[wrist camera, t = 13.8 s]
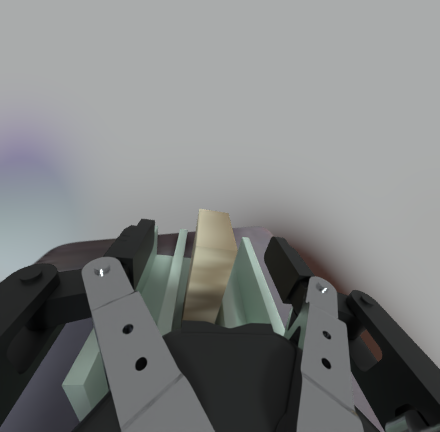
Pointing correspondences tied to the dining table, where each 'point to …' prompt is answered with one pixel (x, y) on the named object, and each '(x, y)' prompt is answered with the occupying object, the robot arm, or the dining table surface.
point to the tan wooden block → (209, 266)
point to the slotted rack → (176, 312)
